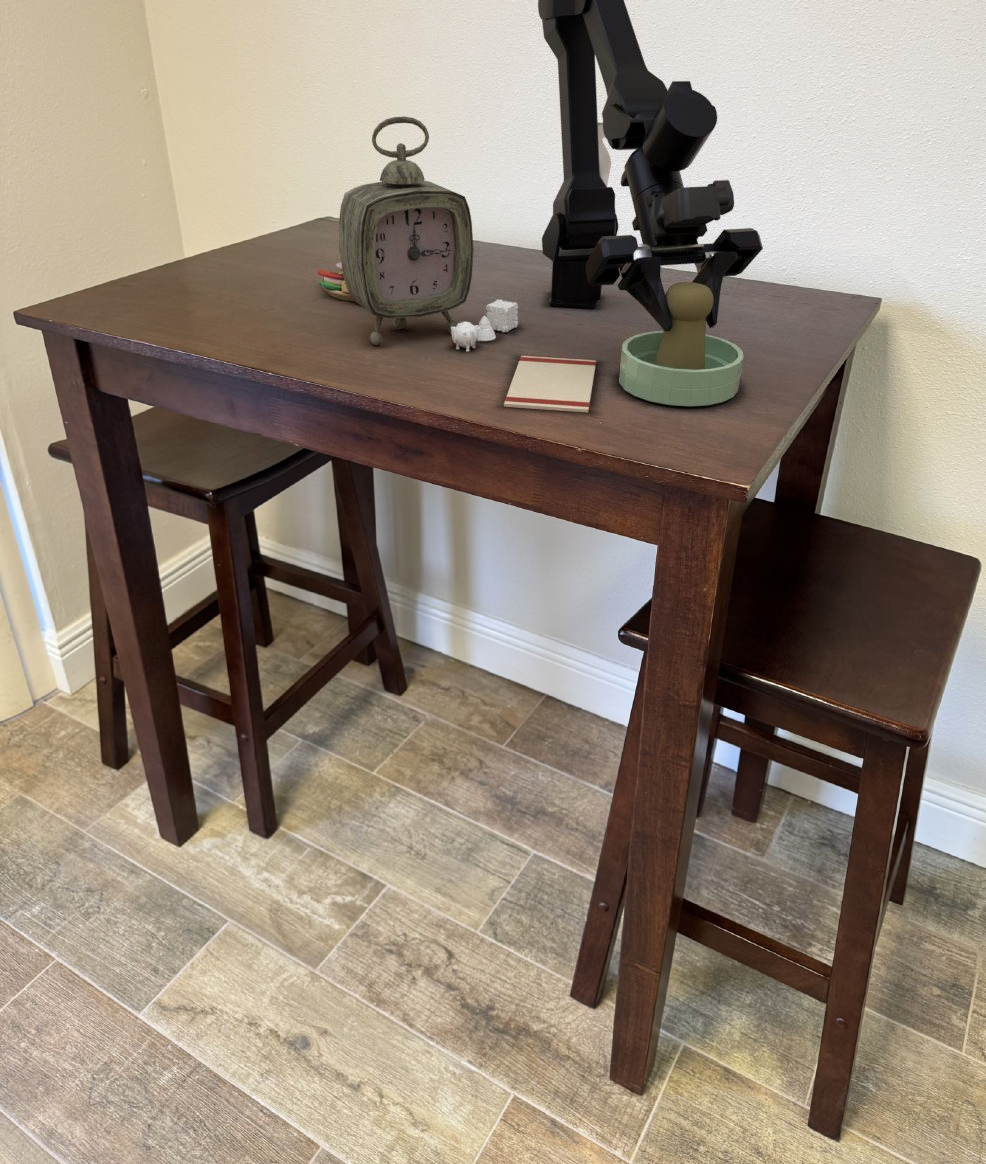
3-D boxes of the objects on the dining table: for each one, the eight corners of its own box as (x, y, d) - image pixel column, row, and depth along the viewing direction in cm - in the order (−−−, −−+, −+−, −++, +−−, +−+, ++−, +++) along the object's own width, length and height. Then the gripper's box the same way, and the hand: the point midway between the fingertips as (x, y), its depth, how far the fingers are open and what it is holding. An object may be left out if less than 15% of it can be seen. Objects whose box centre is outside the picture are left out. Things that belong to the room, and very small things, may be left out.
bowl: (616, 404, 101) (620, 366, 99) (620, 361, 112) (624, 327, 110) (741, 412, 100) (747, 375, 97) (733, 369, 111) (738, 334, 108)
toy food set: (366, 311, 127) (364, 286, 125) (298, 292, 134) (296, 269, 132) (430, 289, 136) (429, 266, 134) (364, 273, 143) (362, 251, 141)
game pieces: (497, 323, 124) (497, 298, 122) (518, 327, 122) (519, 302, 120) (447, 349, 115) (446, 323, 113) (470, 354, 114) (470, 328, 112)
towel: (503, 406, 100) (503, 402, 100) (520, 358, 113) (521, 355, 112) (588, 412, 99) (588, 408, 99) (596, 363, 112) (596, 359, 111)
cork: (704, 395, 103) (719, 294, 97) (649, 390, 104) (660, 290, 98) (705, 375, 108) (719, 278, 102) (652, 371, 109) (663, 275, 103)
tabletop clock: (366, 352, 114) (352, 124, 100) (340, 330, 120) (324, 114, 107) (473, 335, 119) (473, 118, 106) (443, 315, 126) (440, 108, 112)
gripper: (604, 153, 94) (638, 296, 91) (769, 147, 98) (806, 283, 95) (571, 218, 104) (601, 348, 102) (722, 210, 109) (754, 334, 106)
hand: (691, 327), depth 101 cm, fingers closed on cork, 5 cm apart
